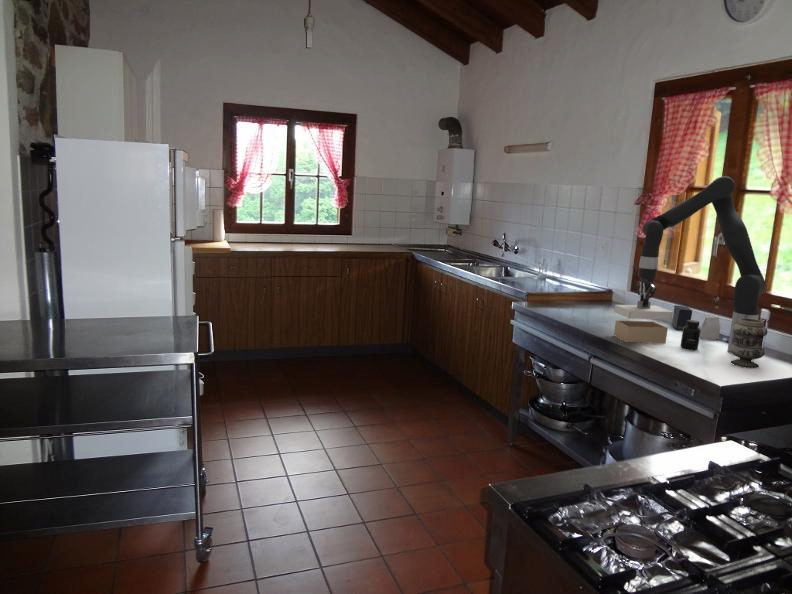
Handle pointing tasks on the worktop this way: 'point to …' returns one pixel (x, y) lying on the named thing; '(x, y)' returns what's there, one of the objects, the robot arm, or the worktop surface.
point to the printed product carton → (710, 328)
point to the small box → (681, 317)
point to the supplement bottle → (690, 335)
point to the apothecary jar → (748, 342)
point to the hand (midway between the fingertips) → (643, 306)
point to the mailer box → (641, 331)
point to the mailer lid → (643, 311)
